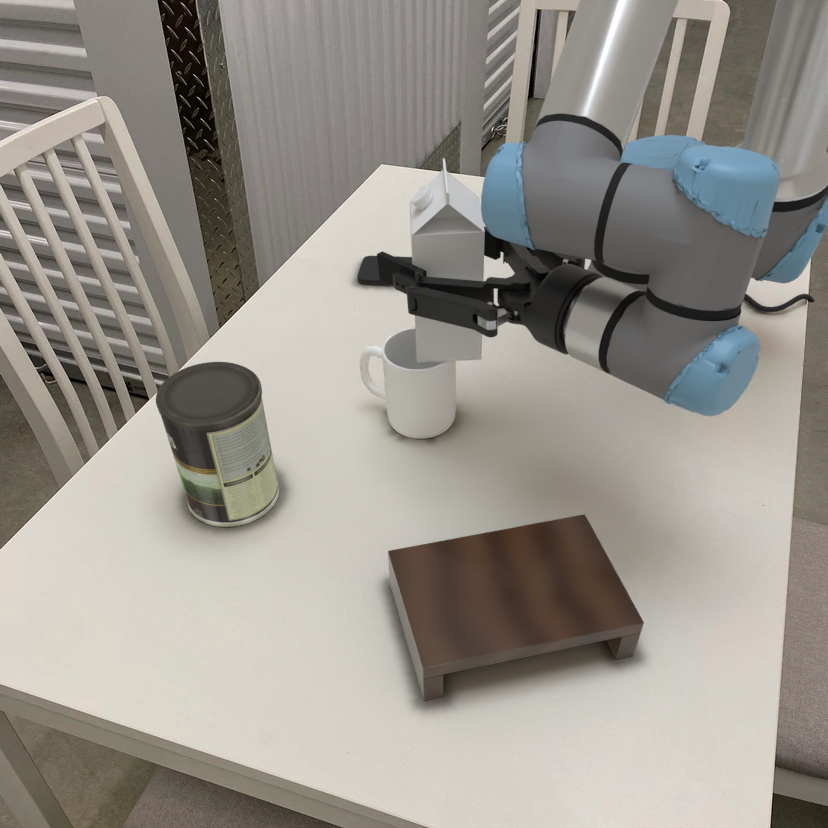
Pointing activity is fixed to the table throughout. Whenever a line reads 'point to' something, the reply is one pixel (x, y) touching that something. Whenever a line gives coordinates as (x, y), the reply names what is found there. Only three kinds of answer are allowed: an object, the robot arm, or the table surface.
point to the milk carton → (447, 259)
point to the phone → (373, 270)
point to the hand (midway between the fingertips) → (418, 246)
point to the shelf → (509, 598)
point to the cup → (412, 387)
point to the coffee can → (220, 442)
